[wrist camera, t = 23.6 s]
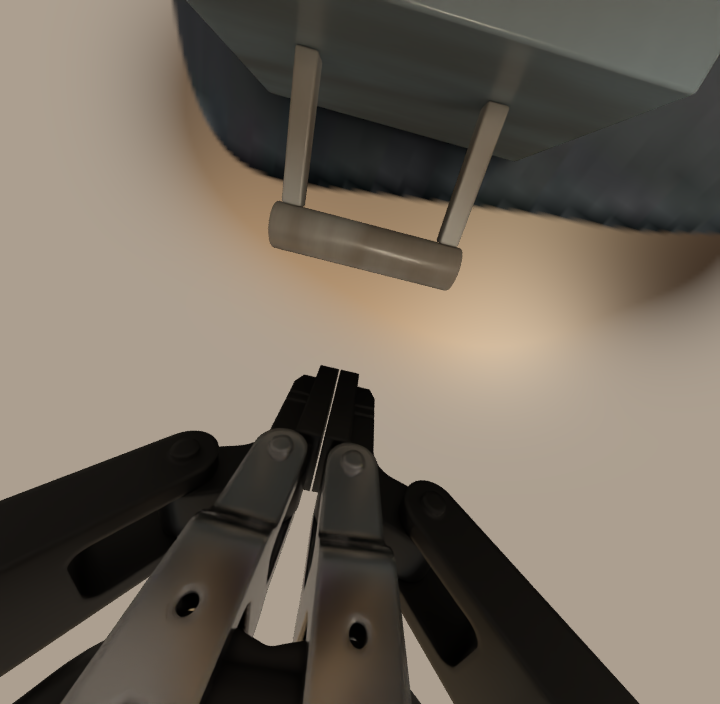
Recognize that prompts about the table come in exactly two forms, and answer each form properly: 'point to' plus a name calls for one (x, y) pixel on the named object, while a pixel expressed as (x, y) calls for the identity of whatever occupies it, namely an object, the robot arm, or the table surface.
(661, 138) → the table surface
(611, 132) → the table surface
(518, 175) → the table surface
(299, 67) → the drawer
